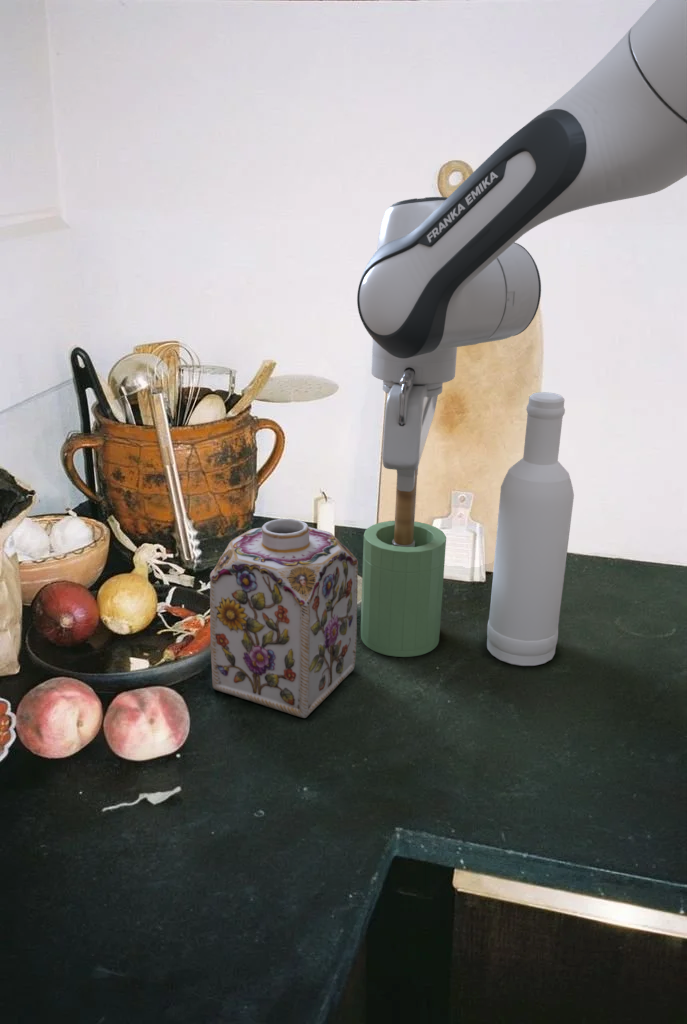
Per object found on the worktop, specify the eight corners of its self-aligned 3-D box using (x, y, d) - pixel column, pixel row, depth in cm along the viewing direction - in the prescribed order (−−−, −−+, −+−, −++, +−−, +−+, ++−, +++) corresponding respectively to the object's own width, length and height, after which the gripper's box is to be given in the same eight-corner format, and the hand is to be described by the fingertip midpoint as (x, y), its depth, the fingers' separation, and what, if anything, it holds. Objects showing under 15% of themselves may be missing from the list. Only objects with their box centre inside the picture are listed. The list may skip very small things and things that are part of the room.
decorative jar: (305, 722, 93) (307, 557, 87) (208, 691, 98) (203, 533, 92) (358, 668, 103) (363, 516, 97) (268, 643, 108) (267, 496, 102)
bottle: (509, 672, 103) (536, 408, 92) (472, 640, 110) (493, 390, 99) (569, 659, 106) (602, 401, 95) (530, 628, 113) (556, 384, 102)
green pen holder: (441, 623, 114) (448, 524, 109) (435, 661, 105) (443, 555, 100) (366, 615, 115) (370, 517, 110) (355, 652, 107) (358, 547, 102)
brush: (417, 585, 109) (427, 435, 103) (415, 599, 106) (424, 445, 99) (387, 582, 110) (394, 433, 103) (383, 596, 107) (390, 442, 100)
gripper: (436, 383, 88) (428, 520, 93) (450, 343, 107) (442, 458, 112) (370, 379, 89) (365, 515, 94) (395, 340, 108) (390, 454, 113)
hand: (407, 483), depth 103 cm, fingers closed on brush, 2 cm apart
